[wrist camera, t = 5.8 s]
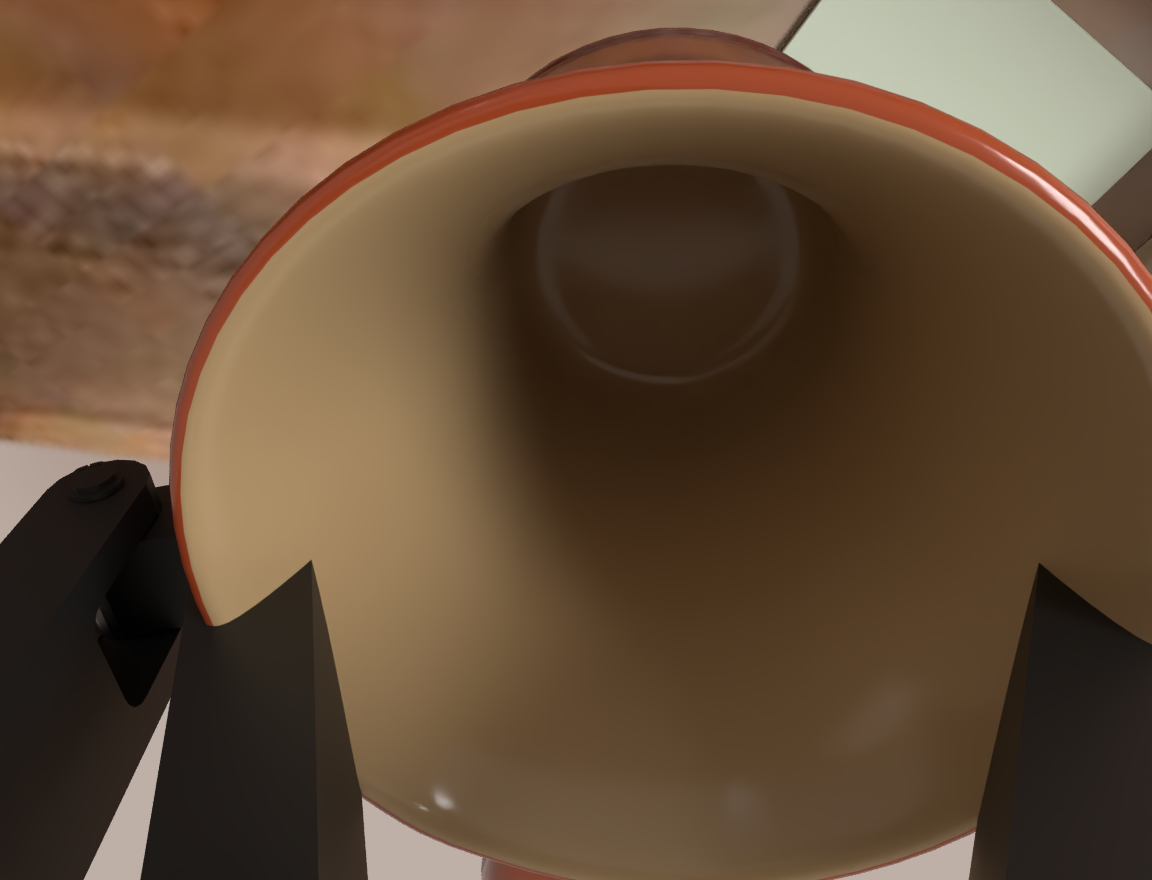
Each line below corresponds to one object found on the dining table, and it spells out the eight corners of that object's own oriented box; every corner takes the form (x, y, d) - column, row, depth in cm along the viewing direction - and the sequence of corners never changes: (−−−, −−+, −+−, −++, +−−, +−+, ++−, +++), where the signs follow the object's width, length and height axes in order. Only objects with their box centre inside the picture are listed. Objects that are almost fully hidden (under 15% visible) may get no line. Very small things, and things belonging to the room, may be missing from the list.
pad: (668, 204, 31) (668, 206, 31) (910, -123, 26) (912, -123, 25) (910, 374, 34) (912, 377, 34) (1178, 115, 28) (1183, 118, 28)
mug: (475, -94, 14) (137, -104, 5) (997, 44, 14) (1535, 260, 5) (394, 496, 20) (183, 945, 11) (755, 581, 20) (819, 1081, 12)
